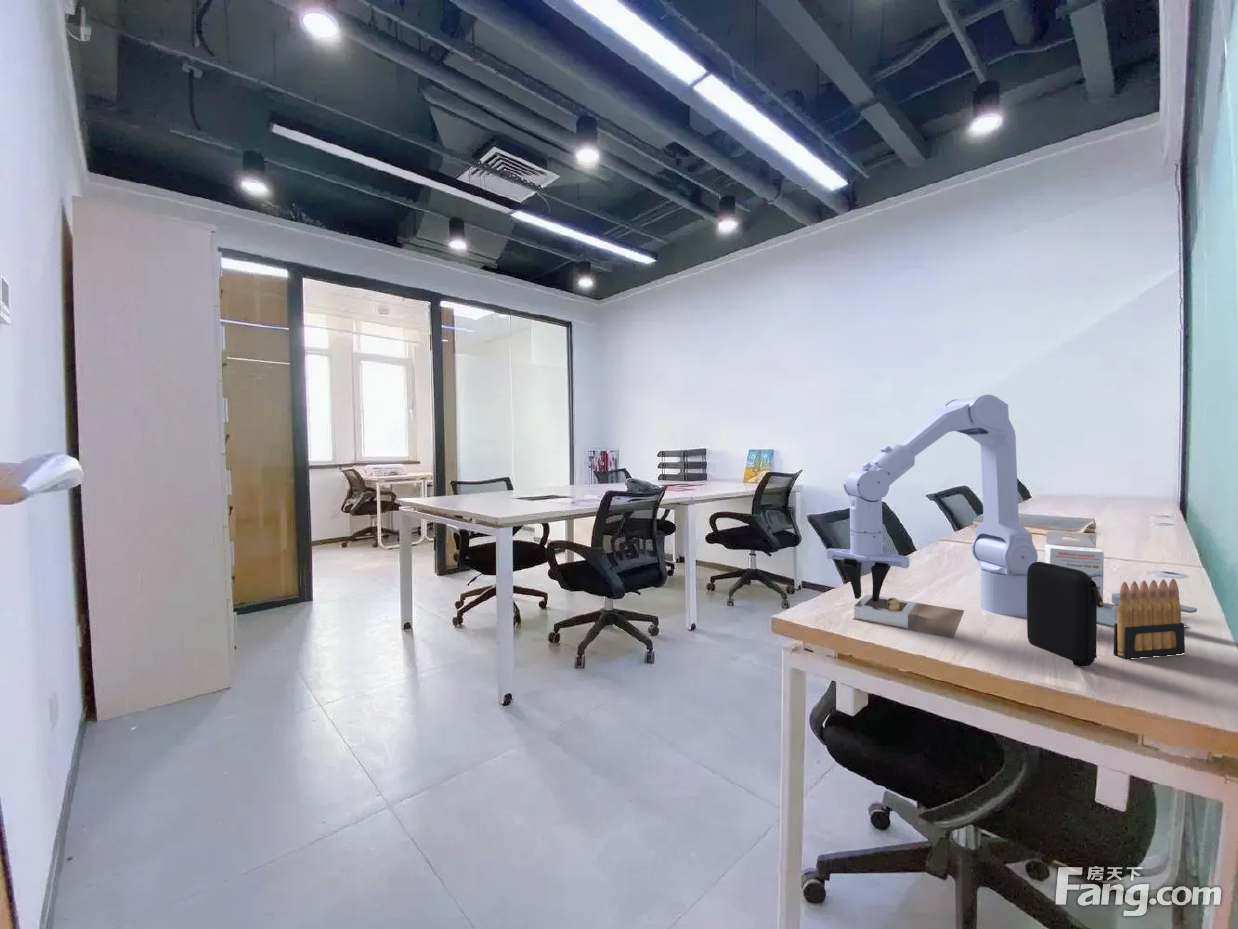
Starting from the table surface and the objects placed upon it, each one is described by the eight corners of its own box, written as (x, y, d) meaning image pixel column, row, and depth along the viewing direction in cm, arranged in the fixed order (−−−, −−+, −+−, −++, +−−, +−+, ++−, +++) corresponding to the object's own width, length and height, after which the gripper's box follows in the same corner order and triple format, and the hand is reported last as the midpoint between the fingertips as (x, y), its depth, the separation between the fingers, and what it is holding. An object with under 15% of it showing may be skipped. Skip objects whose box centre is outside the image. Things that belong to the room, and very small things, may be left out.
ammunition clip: (1126, 659, 75) (1126, 583, 75) (1112, 655, 77) (1112, 580, 77) (1185, 655, 76) (1185, 580, 76) (1170, 650, 78) (1171, 577, 78)
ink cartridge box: (1048, 602, 103) (1048, 533, 102) (1043, 596, 107) (1043, 530, 107) (1104, 608, 98) (1104, 536, 98) (1096, 601, 103) (1097, 532, 102)
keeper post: (900, 617, 93) (900, 597, 93) (898, 620, 91) (897, 599, 91) (888, 615, 94) (888, 595, 94) (886, 618, 93) (886, 598, 93)
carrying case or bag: (1110, 674, 71) (1110, 574, 70) (1092, 676, 70) (1092, 575, 70) (1037, 645, 81) (1036, 558, 81) (1021, 647, 81) (1021, 559, 80)
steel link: (916, 615, 94) (916, 602, 94) (907, 628, 87) (907, 615, 87) (866, 606, 100) (866, 594, 100) (854, 618, 93) (854, 605, 93)
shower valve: (1179, 614, 80) (1066, 591, 94) (1178, 646, 80) (1066, 618, 94) (1210, 603, 85) (1099, 582, 99) (1210, 633, 85) (1099, 609, 99)
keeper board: (963, 615, 96) (963, 610, 96) (952, 644, 83) (952, 638, 83) (875, 600, 107) (875, 596, 107) (852, 624, 93) (852, 619, 93)
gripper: (821, 530, 97) (822, 597, 97) (903, 537, 88) (904, 611, 88) (832, 526, 102) (833, 589, 103) (911, 532, 93) (911, 601, 93)
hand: (866, 599), depth 96 cm, fingers open, 3 cm apart
